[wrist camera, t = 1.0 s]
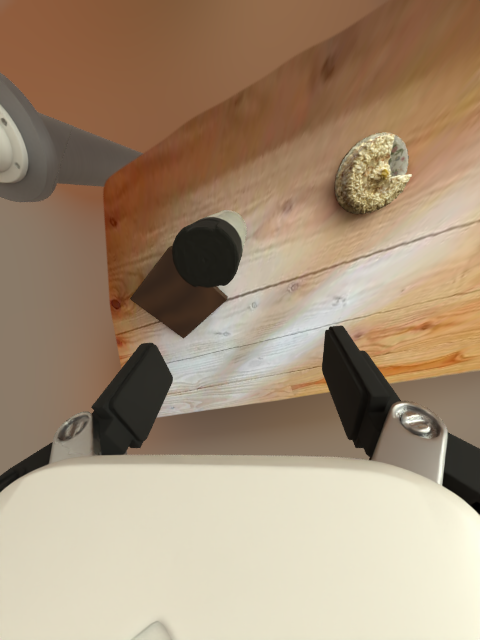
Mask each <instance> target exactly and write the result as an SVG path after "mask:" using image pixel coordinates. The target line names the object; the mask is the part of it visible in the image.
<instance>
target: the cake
mask: <svg viewBox="0 0 480 640" xmlns="http://www.w3.org/2000/svg"><path fill="white" fill-rule="evenodd" d="M408 158H409V156H408V150H407V148H406V145H405V143H404V142H403V141H402V139H401V138H399V137H398V136H397V135H393V134H392V133H389V132H388V133H385V132H383V133H376V134H374V135H371V136H369V137H367V138H364V139H363V140H362V141H360V142H358V143H357V144H356V145H355V146H354V147H353V148H351V150H350V151H349V153H348V154H347V155H346V156H345V158H344V159H343V161H342V163H341V166H340V167H339V170H338V173H337V175H336V182H335V192H336V194H335V195H336V197H337V201H338V202H339V204H340V206H342V207H343V208H344V209H345V210H347V211H348V212H351V213H355V214H360V213H361V214H365V213H371V212H372V211H375V210H377V209H380V208H381V207H384V206H386V205H388V204H390V203H391V201H392V200H394V199H396V198H397V196H398V195H399V194H400V193H401V192H403V189H404V187H405V186H406V183H408V181H409V178H410V177H411V176H412V175H410V174H408V175H405V174H406V172H407V166H408Z"/></svg>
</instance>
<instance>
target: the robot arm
mask: <svg viewBox="0 0 480 640" xmlns="http://www.w3.org/2000/svg"><path fill="white" fill-rule="evenodd" d="M27 170H28V154H27V150H26V147H25V143H24V141H23V139H22V136H21V134H20V132H19V130H18V128H17V126H16V125H15V123H14V122H13V120H12V119H11V117H10V116H9V114H8V113H7V112H6V111H5V109H4V108H3V107H2V106H1V105H0V182H1V183H16V182H19V181H21V180H22V179H23V178H24V177H25V175H26V173H27ZM322 371H323V375H324V377H325V380H326V383H327V385H328V388H329V391H330V393H331V395H332V398H333V401H334V404H335V406H336V409H337V411H338V414H339V417H340V419H341V422H342V425H343V427H344V430H345V433H346V435H347V437H348V439H349V440H353V442H354V445H355V447H356V448H364V450H365V452H366V454H367V455H368V456H369V457H370V458H369V460H365V459H357V458H343V457H318V456H262V455H261V456H260V455H253V456H251V455H127V449H128V447H130V448H140V447H141V445H142V443H143V441H145V440H146V439H147V437H148V435H149V432H150V430H151V428H152V426H153V423H154V421H155V419H156V417H157V415H158V413H159V410H160V408H161V406H162V404H163V402H164V399H165V397H166V395H167V393H168V391H169V388H170V386H171V384H172V381H173V377H172V375H171V373H170V371H169V369H168V367H167V365H166V363H165V361H164V359H163V357H162V355H161V353H160V351H159V349H158V347H157V346H156V345H154V344H153V343H143V344H141V345H140V346H139V347H138V348H137V350H136V351H135V352H134V353H133V355H132V356H131V357H130V359H129V360H128V361H127V362H126V364H125V365H124V366H123V367H122V369H121V370H120V371H119V373H118V374H117V375H116V376H115V378H114V379H113V380H112V381H111V383H110V384H109V385H108V387H107V388H106V389H105V390H104V392H103V393H102V394H101V396H100V397H99V398H98V399H97V401H96V402H95V403H94V404H93V406H92V408H93V409H94V412H93V413H92V414H91V413H90V412H81V413H78V414H76V415H74V416H73V417H71V418H69V419H68V420H67V421H66V422H65V423H63V424H62V425H61V427H60V428H59V429H58V430H57V432H56V433H55V436H54V439H53V442H52V443H50V444H49V445H47V446H46V447H44V448H42V449H41V450H39V451H37V452H36V453H34V454H33V455H31V456H30V457H28V458H27V459H25V460H23V461H21V462H20V463H18V464H17V465H15V466H13V467H12V468H10V469H9V470H8V471H6V472H5V473H3V474H2V475H1V476H0V640H480V449H479V448H477V447H475V446H473V445H471V444H469V443H467V442H465V441H463V440H462V439H459V438H458V437H456V436H454V435H452V434H450V433H448V432H447V428H446V426H445V424H444V422H443V421H442V420H441V419H440V418H439V417H438V416H437V415H436V414H435V413H434V412H432V411H431V410H430V409H428V408H426V407H424V406H422V405H420V404H417V403H414V402H409V401H401V400H400V399H399V397H398V396H397V395H396V393H395V392H394V390H393V389H392V387H391V386H390V385H389V383H388V382H387V380H386V379H385V378H384V376H383V375H382V373H381V372H380V371H379V369H378V368H377V366H376V365H375V364H374V362H373V361H372V359H371V358H370V357H369V355H368V354H367V353H366V352H365V351H360V350H359V349H358V348H357V346H356V345H355V343H354V342H353V340H352V339H351V337H350V336H349V334H348V333H347V331H346V330H345V328H344V327H343V326H333V327H330V328H329V330H326V331H325V341H324V352H323V363H322Z"/></svg>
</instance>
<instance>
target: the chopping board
mask: <svg viewBox="0 0 480 640" xmlns="http://www.w3.org/2000/svg"><path fill="white" fill-rule="evenodd" d="M130 299H131V300H132V301H133V302H135V303H136V304H138V305H139V306H140V307H142V308H143V309H144V310H146V311H147V312H148V313H150V314H151V315H152V316H154V317H155V318H157V319H158V320H159V321H161V322H162V323H163V324H165V325H166V326H167V327H169V328H170V329H171V330H173V331H174V332H176V333H177V334H178V335H180V336H181V337H182V338H185V337H186V336H187V335H188V334H189V333H190V332H191V331H193V330H194V329H195V328H196V327H197V326H198V325H199V324H200V323H201V322H203V321H204V320H205V319H206V318H207V317H208V316H209V315H210V314H211V313H213V312H214V311H215V310H216V309H217V308H218V307H219V306H220V305H221V304H223V303H224V302H225V301H226V300H227V296H226V295H225V294H224V293H223V292H222V291H221V290H220V289H219V288H218V287H211V288H205V287H201V286H198V287H194V286H192V285H190V284H189V283H187V282H186V281H185V280H184V279H183V278H182V277H181V276H180V275H179V273H178V272H177V270H176V268H175V265H174V262H173V258H172V246H170V247H169V248H168V249H167V251H166V252H165V253H164V255H163V256H162V257H161V259H160V260H159V261H158V263H157V264H156V265H155V267H154V268H153V269H152V271H151V272H150V273H149V274H148V276H147V277H146V278H145V280H144V281H143V282H142V284H141V285H140V286H139V288H138V289H137V290H136V292H135V293H134V294H133V296H132V297H131V298H130Z"/></svg>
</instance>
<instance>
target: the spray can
mask: <svg viewBox="0 0 480 640" xmlns="http://www.w3.org/2000/svg"><path fill="white" fill-rule="evenodd" d="M246 232H247V231H246V225H245V222H244V220H243V218H242V217H241V216H240V215H239V214H238V213H236V212H234V211H230V210H225V211H221V212H218V213H216V214H213V215H211V216H208V217H205V218H203V219H201V220H198V221H196V222H195V223H193V224H191V225H188V226H186V227H184V228H183V229H182V230H181V231H180V232H179V233H178V235H177V236H176V238H175V240H174V243H173V246H172V258H173V262H174V265H175V268H176V270H177V272H178V273H179V275H180V276H181V277H182V278H183V279H184V280H185V281H186V282H187V283H189V284H190V285H192V286H194V287H198V286H201V287H205V288H211V287H216V286H219V285H222V286H225V285H227V284H228V283H229V282H230V281H231V280H232V279H233V278H234V276H235V274H236V272H237V270H238V266H239V262H240V260H241V257H242V251H243V247H244V243H245V238H246Z"/></svg>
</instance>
